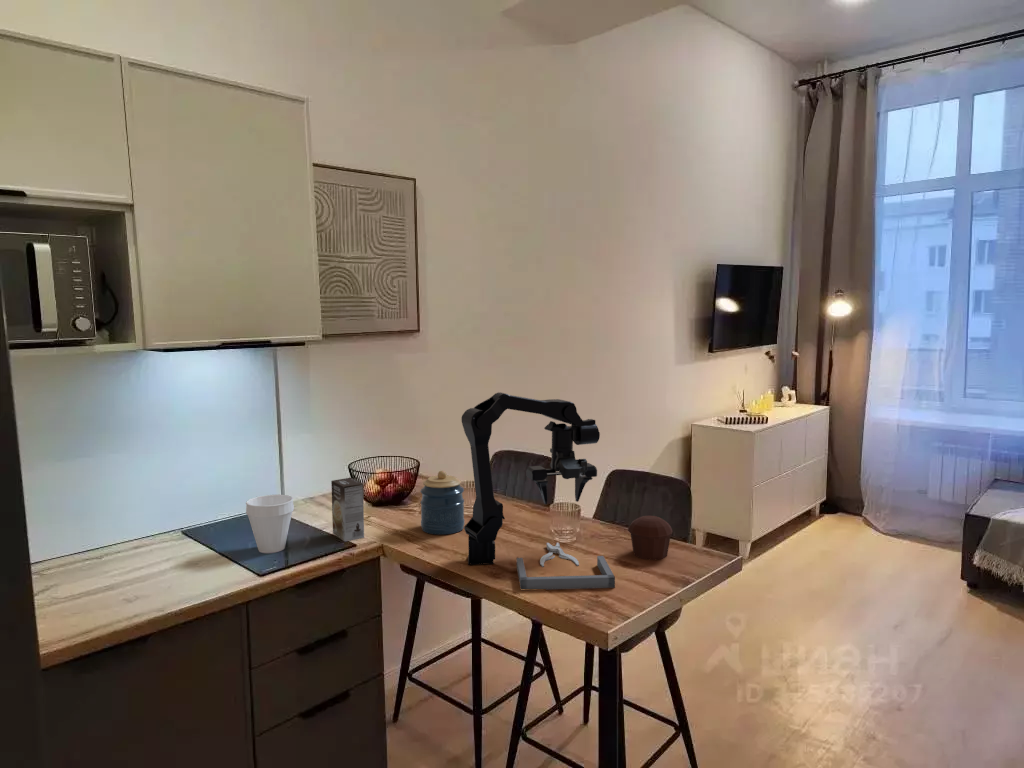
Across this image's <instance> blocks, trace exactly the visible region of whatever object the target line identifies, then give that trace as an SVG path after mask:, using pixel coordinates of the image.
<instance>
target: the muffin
mask: <svg viewBox="0 0 1024 768" xmlns="http://www.w3.org/2000/svg"><path fill="white" fill-rule="evenodd" d="M627 531H628V533H630V538H631V545H632V553H633V552H634V553H633V555H634V556H635V557H637V558H640V559H641V560H649V559H650V561H655V559H656V560H663V559H665V558H666V557H668V554H669V553H668V552H669V548H670V547H669V546H670V543H671V542H670V541H671V536H672V534H673V528H672V526H671V524H670V523H668V522H667V521H666V520H664V518H661V517H659V516H656V515H643V516H642V515H641V516H639V517H637V518H635V519H634V520H632V521H631V523H630V524H629V526H628V528H627Z"/></svg>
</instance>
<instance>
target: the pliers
mask: <svg viewBox="0 0 1024 768" xmlns="http://www.w3.org/2000/svg"><path fill="white" fill-rule="evenodd" d="M546 550H547V551H548V553H546V554H544V555H542V557H541V558H540V560H539V565H540V566H541V568H544V567H545V562H546V561H550V559H551V560H553V559H554V558H556V557H555V556H556V555H554V554H553V553H555V554H558V558H560V559H563V560H567V559H568V561H569V560H570V561H571V562H573V563H574V564H575V565H576V566H577V567H579V566H580V563H579V562H580V561H579V560H578V559H577V558H576V557H575V556H573V555H571V554H568V553H565V552H564V550H563V548H562V547H561V546H560V543H559V542H556V544H555V546H554V545H552V544H551V543H550V542H546Z"/></svg>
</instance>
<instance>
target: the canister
mask: <svg viewBox="0 0 1024 768" xmlns="http://www.w3.org/2000/svg"><path fill="white" fill-rule="evenodd" d="M461 484H462V481H461V480H460V479H459V478H457V477H456V476H454V475H447V472H446V471H445V470H440V471H438V473H437V475H432V476H430V477H428V478H427V479H425V480H424V481H423V482H422V485H423V487H422V488H421V489H420V491H419V492H420V493H421V494H422V495H421V496H422V497H421V500H420V504H421V505H420V507H421V508H420V511H421V514H420V515H421V517H420V526H421V530H422V531H423V532H425V533H426V534H431V535H440V536H441V535H451V534H455V533H460V532H461V531H463V529H464V526H465V517H464V516H465V513H464V510H465V508H464V507H465V506H464V505H465V499H464V498H463V497H464V496H463V493H464V491H465V489H464V487H462V486H461Z"/></svg>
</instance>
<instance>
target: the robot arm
mask: <svg viewBox="0 0 1024 768" xmlns="http://www.w3.org/2000/svg"><path fill="white" fill-rule="evenodd" d="M507 409H508V410H513V411H518V412H524V413H530V414H538V415H541V416H544V417H546V418H549V419H552V421H551V420H550V421H549V422H548V424H547V425H545V427H544V430H546V431H549V432H551V448H549V449H550V450H549V451H550V452H549V453H551V462H550V463H549V467H550V468H545V467H543V466H542V465H533V466H528V467H527V468H526V470H525V471H526V473H525V475H526V477H527V478H528V479H529V480H531V481H533V482H535V484H536V485H537V488H538V490H539V494H541V495H540V496H541V498H542V501H543V504H544V505H547V504H548V488H547V486H548V482H549V481H548V480H547V477H550V476H551V477H552V476H561V477H562V479H564V480H570V479H574V498H575V502H577V503H578V502H580V499H581V495H582V494H583V490H584V488H585V486H586V484H587V483H588V482H589V481H593V478H596V477H598V469H597V466H595V465H593V464H591V463H590V462H588V461H587V458H579V459H576V453H575V450H573V447H574V444H575V445H576V446H580V445H581V446H582V445H591V444H597V443H598V442H599V440H600V435H601V433H600V430H599V428H598V425H597V424H596V419H593V418H587V419H583V418H581V416H580V415H579V413H578V411H577V410H578V409H577V407H576V404H575V403H574V402H572V401H570V400H569V401H568V400H564V399H559V398H555V399H554V398H553V399H541V400H540V399H535V398H528V397H523V396H519V395H518V396H517V395H512V394H508V393H504V392H499V391H498V392H496V393H494V394H493V395H492V396H490V397H488V398H487V399H485V400H483V401H482V402H479V403H478V404H477V405H475V406H474V407H470V408H468V409H466V410H465V411H464V412H463V413H462V415H461V424H462V428H463V431H464V434H465V436H466V438H467V440H468V442H469V445H470V454H471V464H472V471H473V480H474V482H473V483H474V488H475V500H474V503H473V506H472V516H471V518H470V520H468V522H467V523H466V524H464V528H463V529H464V531H465V534H466V535H468V556H467V564H468V565H470V566H471V565H494V560H495V559H496V540H497V536H498V533H499V531H500V529H501V528H502V527H503V523H504V522H503V521H504V520H505V519H506V518H505V516H504V504H503V503H502V502H500V501H498V500H496V498H495V495H494V485H493V477H492V475H493V474H492V467H491V458H490V457H491V456H490V449H489V448H490V447H489V443H490V439H491V437H492V436H491V435H492V431H493V430H492V428H493V424H495V423H496V422H497V421H498V420H499V418H500V417H501V416H502V415H503V414H504V413H505V411H507ZM553 420H554V421H553ZM556 421H558V422H562V423H556ZM567 424H569V426H568V425H567Z"/></svg>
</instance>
